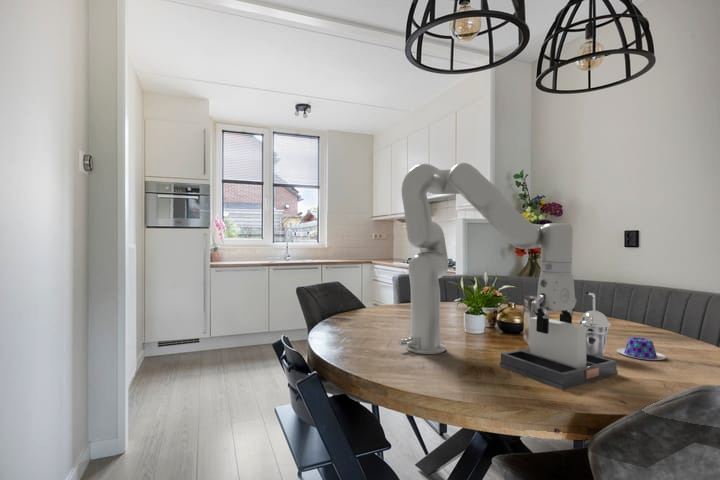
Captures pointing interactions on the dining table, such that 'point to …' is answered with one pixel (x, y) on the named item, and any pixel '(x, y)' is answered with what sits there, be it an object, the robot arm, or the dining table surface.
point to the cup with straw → (595, 330)
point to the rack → (557, 369)
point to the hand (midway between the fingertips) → (554, 330)
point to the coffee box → (528, 316)
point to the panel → (560, 342)
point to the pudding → (641, 349)
